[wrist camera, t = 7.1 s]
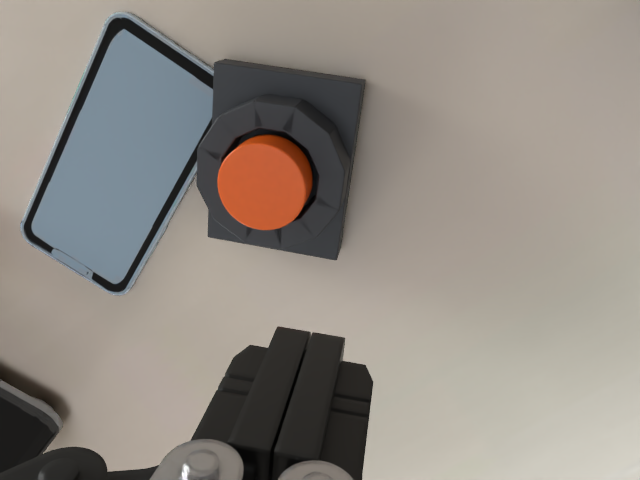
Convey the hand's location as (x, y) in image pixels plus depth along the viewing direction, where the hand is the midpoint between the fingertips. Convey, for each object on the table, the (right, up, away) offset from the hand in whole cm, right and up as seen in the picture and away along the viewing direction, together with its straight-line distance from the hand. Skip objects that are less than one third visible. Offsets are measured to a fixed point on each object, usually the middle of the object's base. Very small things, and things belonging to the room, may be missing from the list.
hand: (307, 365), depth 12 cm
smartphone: (-10, +7, +18) cm, 22 cm away
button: (-2, +6, +13) cm, 15 cm away
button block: (-1, +7, +16) cm, 18 cm away
